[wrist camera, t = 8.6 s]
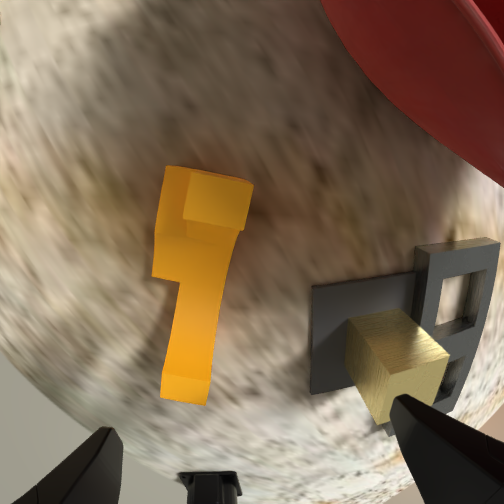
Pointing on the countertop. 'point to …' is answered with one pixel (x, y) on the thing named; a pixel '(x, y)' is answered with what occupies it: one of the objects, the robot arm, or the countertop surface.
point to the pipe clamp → (196, 268)
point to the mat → (336, 321)
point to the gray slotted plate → (476, 308)
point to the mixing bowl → (435, 67)
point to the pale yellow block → (392, 360)
